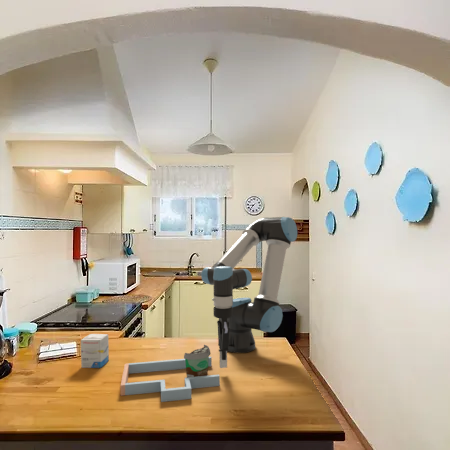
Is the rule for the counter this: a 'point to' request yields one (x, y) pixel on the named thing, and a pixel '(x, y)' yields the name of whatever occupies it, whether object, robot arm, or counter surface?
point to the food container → (197, 362)
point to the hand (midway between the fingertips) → (223, 366)
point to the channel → (159, 385)
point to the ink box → (94, 351)
